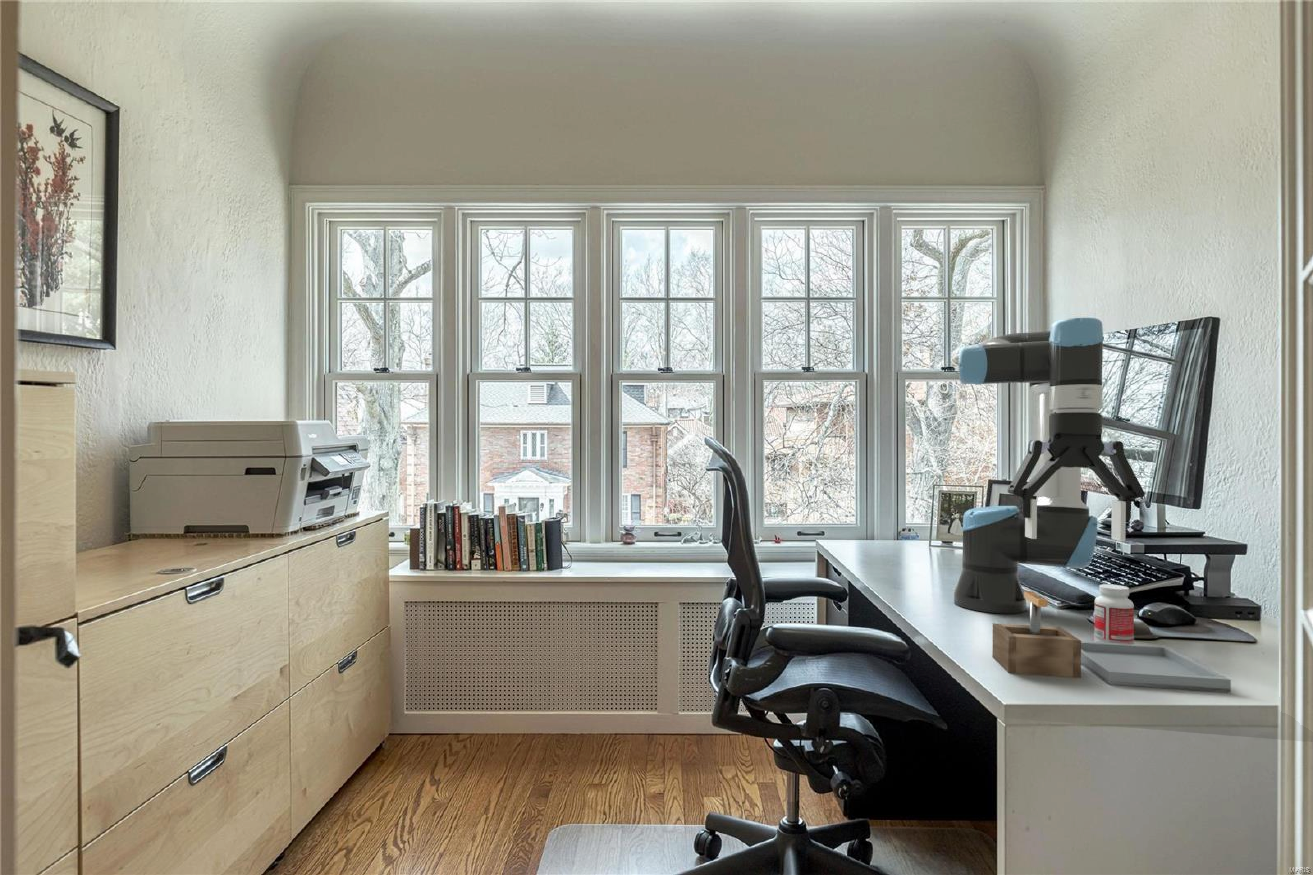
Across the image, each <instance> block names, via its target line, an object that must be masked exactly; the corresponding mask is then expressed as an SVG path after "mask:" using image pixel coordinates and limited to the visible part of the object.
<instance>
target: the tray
mask: <svg viewBox="0 0 1313 875" xmlns="http://www.w3.org/2000/svg"><path fill="white" fill-rule="evenodd" d="M1081 666H1083V667H1084V668H1085V669H1087V670H1088V671H1089V672H1091V673H1092V674H1094V675H1095V676H1097V677H1098V678H1099V679H1101V680H1102V681H1103V682H1105V683H1106V684H1108V685H1111V686H1112V685H1113V686H1115V685H1116V686H1124V687H1125V686H1129V687H1141V688H1142V687H1144V688H1156V689H1158V688H1159V689H1170V690H1171V689H1173V690H1184V691H1185V690H1186V691H1187V690H1188V691H1199V692H1200V691H1201V692H1213V691H1221V692H1220V693H1228V692H1231V690H1232V689H1231V687H1232V686H1231V685H1232V683H1231V682H1232V680H1231V679H1230V678H1228V677H1227V676H1224V675H1222V674H1220V673H1219V672H1217V671H1215V670H1213V669H1211V668H1209V667H1207V666H1205V665H1203V664H1201V663H1200V662H1197V660H1196V661H1195V660H1194V659H1192V658H1190V657H1188V656H1186V655H1184V654H1182V653H1180V652H1178V651H1177V650H1174V649H1173V648H1171V647H1169V646H1166V645H1153V644H1135V643H1134V644H1120V643H1103V642H1096V641H1084V640H1081Z"/></svg>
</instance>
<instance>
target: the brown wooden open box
mask: <svg viewBox="0 0 1313 875" xmlns="http://www.w3.org/2000/svg"><path fill="white" fill-rule="evenodd" d="M1081 641H1082V640H1081V639H1080V638H1078V637H1076V636H1075V635H1073V634H1072V633H1070V632H1069V631H1067V630H1066V629H1064V628H1062V627H1060V626H1046V625H1041V629H1040V635H1030V624H1029V625H1025V624H1009V623H1006V624H1005V623H993V622H992V651H991V652H992V654H991V656H992V658H993V659H994V660H995V662H997V663H998V664H999V665H1000V666H1001V667H1002V668H1003V669H1004V670H1005V671H1006V672H1007V673H1008V674H1009V673H1010V674H1023V675H1024V674H1025V675H1036V674H1037V675H1038V674H1039V676H1053V677H1055V676H1056V677H1066V678H1068V677H1069V678H1082V665H1081Z"/></svg>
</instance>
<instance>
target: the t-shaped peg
mask: <svg viewBox="0 0 1313 875" xmlns="http://www.w3.org/2000/svg"><path fill="white" fill-rule="evenodd" d="M1023 592H1024V598H1025V599H1026V601H1029V625H1030V635H1040V629H1041V626H1042V625H1041V617H1042V616H1041V612H1042V610H1041V609H1042V608H1045V607H1046V608H1048V599H1047V598H1045V597H1043V596H1042V595H1041V594H1038V593H1037V592H1034V591H1033V590H1023Z"/></svg>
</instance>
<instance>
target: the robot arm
mask: <svg viewBox="0 0 1313 875" xmlns="http://www.w3.org/2000/svg"><path fill="white" fill-rule="evenodd" d="M1049 329H1050V330H1047V331H1034V332H1014V333H1007V334H1004V335H1000V336H995V337H993V338H989V339H986V340H984V341H982V342H981V343H977V344H976V343H975V344H970V345H969V344H968V345H963V346H962V347H961V348H960V349H959V351H958V378H959V382H960V383H961V384H965V385H978V386H980V385H993V384H1017V383H1018V384H1024V383H1029V391H1031V392H1032V393H1033V394H1034V395H1035V396H1036V403H1037V404H1036V408H1037V410H1036V439H1035V440H1033V439H1032V440H1029V442H1028V445H1027V452H1026V454H1025V457H1024V458H1023V460H1022V462H1021V464H1020V466H1019V467H1018V470H1017V471H1016V473H1015V475H1014V477H1013V479H1012V480H1011V482H1010V484H1009V485H1008V488H1007V493H1008V494H1010V495H1013V496H1015V497H1018V498H1019V506H1016V505H996V506H995V505H993V506H982V507H981V506H980V507H975V508H974V507H973V508H970V509H968V510H966V511H965V512H964V514H963V517H962V528H961V531H962V563H961V564H962V569H961V574H960V576H959V578H958V581H957V583H956V586H955V589H954V594H953V603H954V604H955V605H957V606H959V607H961V608H965V609H969V610H973V611H976V612H977V611H978V612H984V613H992V614H993V613H994V614H1020V613H1024V612H1025V611H1027V599H1025V598H1024V590H1023V588H1022V587H1023V586H1022V584H1021V581H1020V578H1019V564H1022V565H1030V566H1031V565H1033V566H1044V567H1045V566H1046V567H1054V568H1055V567H1056V568H1063V569H1067V568H1069V569H1071V568H1073V569H1074V568H1075V569H1084V568H1087V567H1089V565H1090V564H1091V562H1092V560H1093V557H1094V553H1095V548H1096V543H1097V537H1098V536H1097V535H1098V523H1099V522H1098V518H1097V517H1096V516H1094V515H1090V507H1089V506H1088V505H1087V504H1085V503H1084V502H1083V501H1082V469H1085V468H1086V469H1089V470H1091V471H1093V473H1094V474H1095V475H1096V476H1097V477H1098V479H1100V481H1101V482H1102V483H1103V484H1104V485H1105V486H1106V487H1107V489H1109V491H1110V492H1111V493H1112V494H1113V495H1114V497H1116V499H1117V500H1116V499H1115V500H1114V499H1113V500H1111V528H1110V532H1111V535H1110V536H1111V538H1110V540H1114V541H1118V542H1126V532H1127V531H1126V529H1127V528H1126V526H1127V525H1126V523H1127V522H1126V521H1130V520H1131V519H1132V517H1131V516H1132V502H1135V501H1136V499H1138V498H1144V497H1145V495H1146V494H1145V491H1144V489H1143V487H1142V485H1141V483H1140V481H1139V480H1138V478H1137V476H1136V474H1135V472H1134V470H1133V468H1132V466H1131V465H1130V462H1129V461H1128V459H1127V457H1126V455H1125V448H1124V443H1123V441H1120V440H1110V441H1108V442H1103V440H1102V435H1103V414H1101V413H1100V412H1099V410H1102V409H1103V359H1104V358H1103V356H1104V355H1103V352H1104V350H1103V349H1104V341H1105V336H1104V334H1103V333H1104V328H1103V323H1102V321H1101V320H1100V319H1098V318H1096V317H1075V318H1074V317H1073V318H1067V319H1066V318H1065V319H1060V320H1057V321H1054V322H1053V323H1052V324H1051V326H1050V328H1049ZM1103 452H1105V454H1106V455H1108V457H1109V460H1110V462H1111V463H1112V466H1113V467H1114V469H1115V471H1116V472H1117V475H1118V477H1119V479H1120V480H1121V481H1120V480H1119V479H1118V478H1117V476H1115V475H1114V474H1113V472H1112V471H1111V470H1110V469H1109V468H1108V466H1107V464H1106V463H1105V461H1104V460H1103V459H1102V458H1101V457H1100V456H1101V454H1102V453H1103ZM1035 467H1036V474H1035V475H1034V476H1033V477H1032V478H1031V479H1030V480H1029V478H1030V477H1031V474H1032V473H1033V471H1034V469H1035ZM1028 480H1029V481H1028ZM1027 481H1028V482H1027ZM1035 494H1036V499H1035V498H1033V497H1034V496H1035Z"/></svg>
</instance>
